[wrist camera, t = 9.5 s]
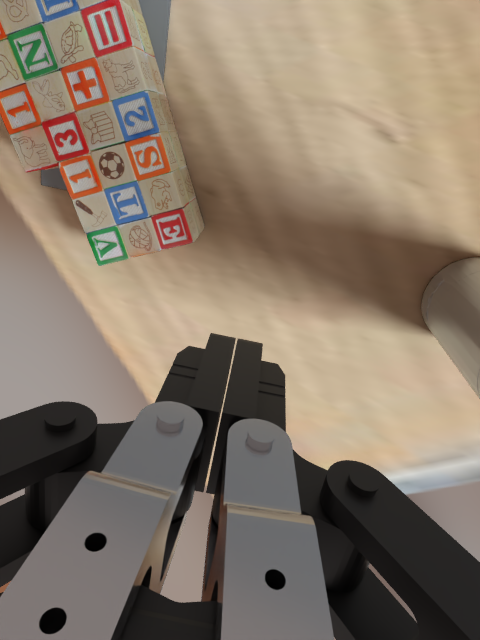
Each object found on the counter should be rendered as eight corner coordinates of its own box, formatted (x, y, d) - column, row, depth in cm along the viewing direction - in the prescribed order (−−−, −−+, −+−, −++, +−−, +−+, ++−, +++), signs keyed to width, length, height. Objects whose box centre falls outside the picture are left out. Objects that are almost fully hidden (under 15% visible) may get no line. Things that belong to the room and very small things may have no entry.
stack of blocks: (195, 243, 37) (68, 275, 40) (207, 227, 43) (95, 256, 45) (100, -59, 29) (-52, 3, 32) (130, -30, 35) (-1, 21, 37)
